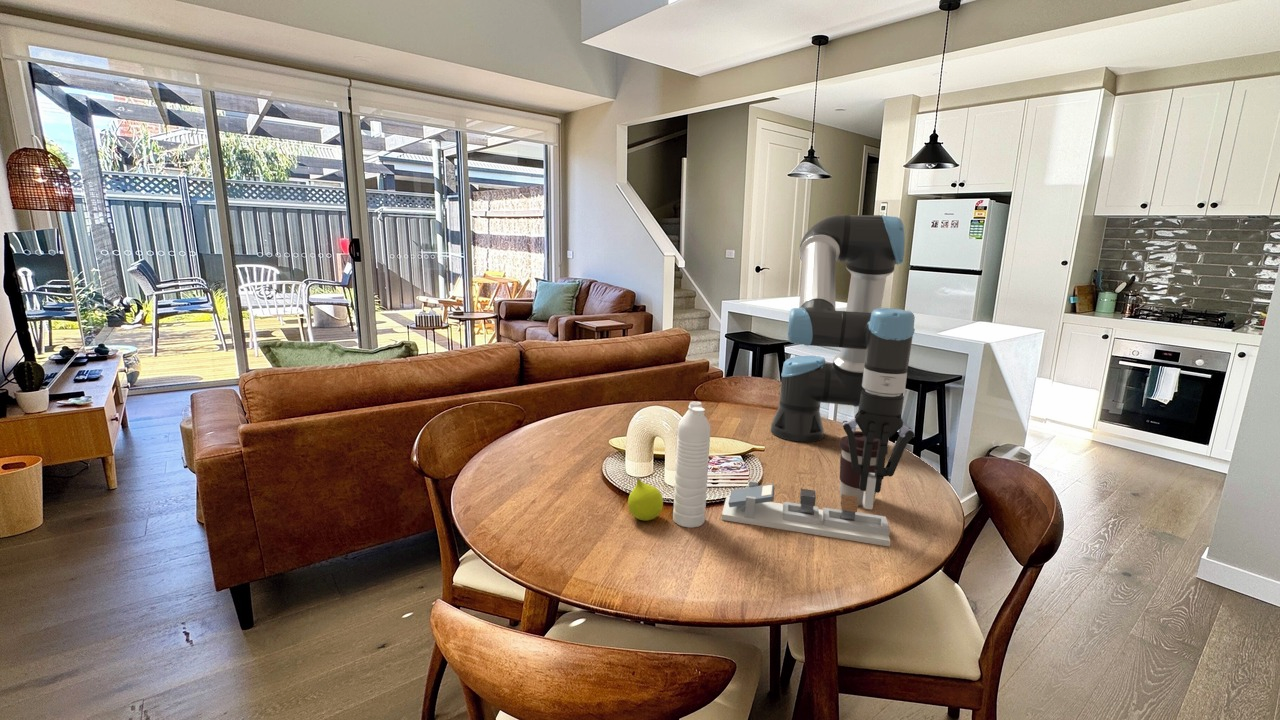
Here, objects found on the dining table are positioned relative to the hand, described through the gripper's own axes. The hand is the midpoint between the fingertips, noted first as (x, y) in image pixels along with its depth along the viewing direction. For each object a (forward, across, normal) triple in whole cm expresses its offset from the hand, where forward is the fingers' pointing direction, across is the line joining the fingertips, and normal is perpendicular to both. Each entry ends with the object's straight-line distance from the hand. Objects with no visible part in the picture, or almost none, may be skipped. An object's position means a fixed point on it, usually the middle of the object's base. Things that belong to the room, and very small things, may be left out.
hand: (867, 505), depth 111 cm
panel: (+6, -12, 0) cm, 13 cm away
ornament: (+6, -43, -9) cm, 44 cm away
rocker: (+1, -22, 0) cm, 23 cm away
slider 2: (+4, -3, 0) cm, 5 cm away
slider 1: (+4, -11, 0) cm, 12 cm away
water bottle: (+6, -34, -8) cm, 35 cm away
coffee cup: (+6, 0, +15) cm, 16 cm away
